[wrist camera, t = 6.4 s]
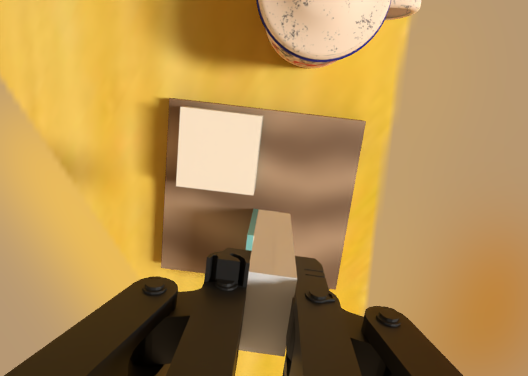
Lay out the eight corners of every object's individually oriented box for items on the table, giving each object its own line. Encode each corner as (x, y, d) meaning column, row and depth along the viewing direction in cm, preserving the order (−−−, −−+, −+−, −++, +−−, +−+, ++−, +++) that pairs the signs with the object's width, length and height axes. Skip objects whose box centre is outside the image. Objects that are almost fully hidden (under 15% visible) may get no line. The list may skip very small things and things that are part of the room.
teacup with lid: (260, 70, 33) (250, 55, 22) (263, -40, 31) (254, -119, 20) (390, 73, 33) (448, 59, 22) (402, -38, 31) (474, -117, 20)
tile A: (263, 115, 33) (187, 106, 33) (262, 116, 31) (180, 106, 31) (255, 188, 35) (183, 180, 35) (253, 195, 32) (175, 186, 32)
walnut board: (174, 98, 34) (169, 98, 33) (361, 120, 34) (365, 121, 33) (165, 261, 38) (161, 267, 37) (333, 282, 38) (335, 289, 37)
